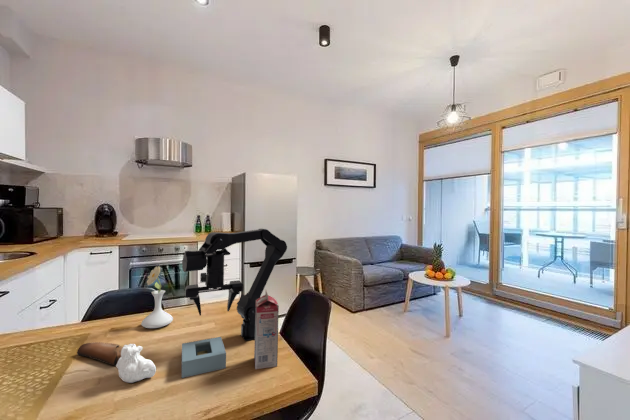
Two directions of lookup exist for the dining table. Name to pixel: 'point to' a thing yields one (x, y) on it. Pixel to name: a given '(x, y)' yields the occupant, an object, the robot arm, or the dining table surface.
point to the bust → (134, 364)
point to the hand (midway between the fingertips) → (214, 313)
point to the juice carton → (266, 332)
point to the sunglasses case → (101, 351)
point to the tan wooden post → (202, 352)
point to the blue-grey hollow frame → (203, 356)
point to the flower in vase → (156, 305)
